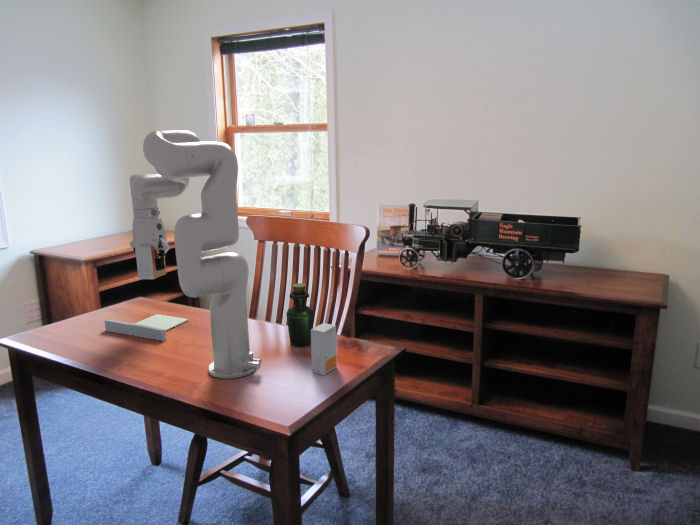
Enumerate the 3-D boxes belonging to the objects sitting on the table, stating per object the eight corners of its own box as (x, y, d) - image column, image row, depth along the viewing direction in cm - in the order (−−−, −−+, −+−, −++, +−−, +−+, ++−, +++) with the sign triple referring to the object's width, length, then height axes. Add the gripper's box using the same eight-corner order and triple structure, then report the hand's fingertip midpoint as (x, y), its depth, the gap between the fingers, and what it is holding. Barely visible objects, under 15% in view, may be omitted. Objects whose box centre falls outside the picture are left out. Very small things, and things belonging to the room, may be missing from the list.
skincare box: (324, 375, 143) (323, 332, 140) (311, 372, 145) (309, 329, 142) (337, 367, 148) (336, 325, 145) (324, 364, 150) (323, 322, 147)
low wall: (165, 339, 169) (164, 329, 168) (163, 341, 168) (161, 330, 167) (108, 329, 179) (107, 319, 178) (105, 330, 178) (104, 320, 177)
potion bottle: (312, 348, 160) (310, 289, 156) (284, 348, 161) (281, 288, 157) (317, 338, 168) (315, 281, 164) (291, 337, 169) (288, 281, 165)
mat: (188, 320, 186) (188, 319, 186) (158, 334, 173) (158, 333, 173) (157, 315, 191) (156, 314, 191) (125, 329, 179) (125, 327, 179)
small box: (154, 280, 174) (150, 247, 172) (138, 279, 175) (134, 246, 173) (167, 273, 182) (164, 242, 179) (151, 273, 183) (148, 241, 180)
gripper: (175, 213, 173) (181, 268, 178) (134, 210, 180) (140, 264, 185) (158, 216, 167) (164, 273, 171) (116, 214, 174) (123, 269, 178)
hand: (152, 268), depth 178 cm, fingers closed on small box, 6 cm apart
